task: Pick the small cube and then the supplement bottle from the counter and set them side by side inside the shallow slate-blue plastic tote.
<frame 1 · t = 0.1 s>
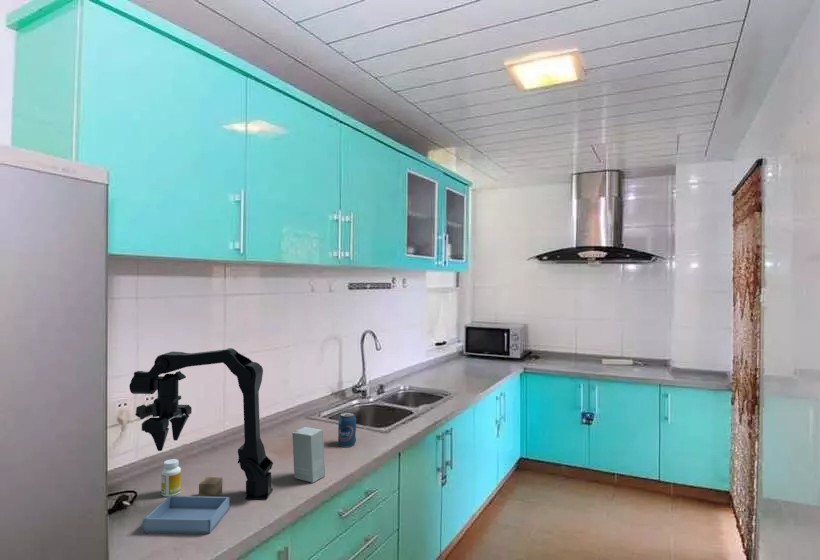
hand: (167, 445, 149), 15 cm above the worktop, fingers open, 9 cm apart
supplement bottle: (171, 493, 149), on the worktop
tote: (188, 520, 133), on the worktop
cube: (210, 497, 147), on the worktop
skincare box: (308, 478, 161), on the worktop
soda can: (347, 445, 193), on the worktop
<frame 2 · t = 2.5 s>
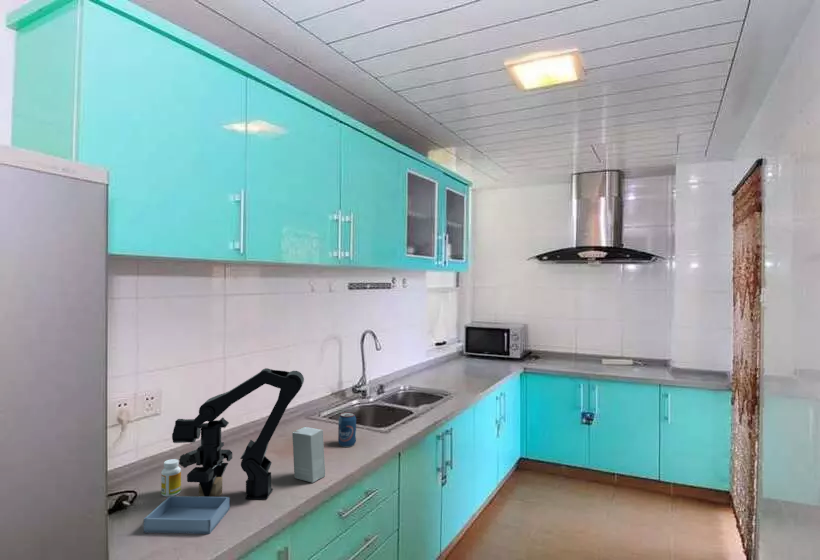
hand: (210, 493, 147), 1 cm above the worktop, fingers closed on cube, 5 cm apart
cube: (210, 496, 147), on the worktop, touching gripper
everything else where it was.
when the fingers open (4 cm above the worktop, at t = 5.9 s): cube drops 3 cm, resting on tote.
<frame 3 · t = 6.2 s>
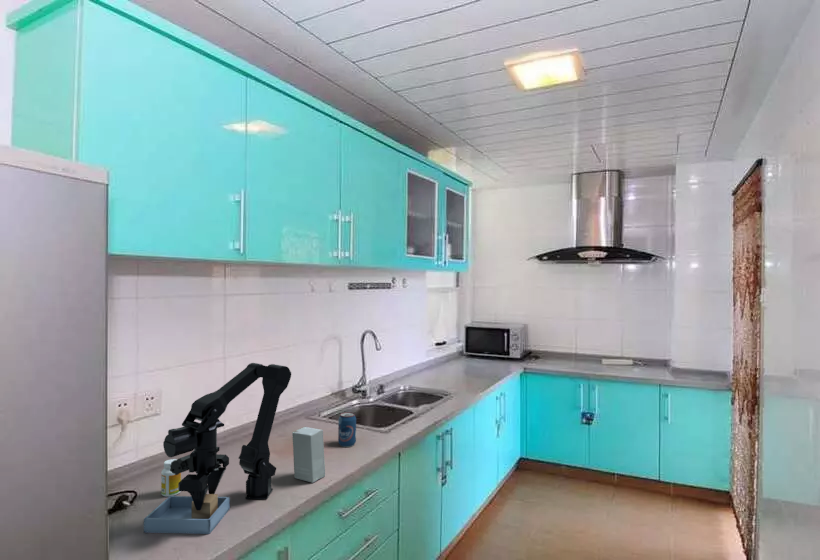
hand: (205, 503, 134), 4 cm above the worktop, fingers open, 8 cm apart
cube: (204, 516, 134), point 1 cm above the worktop, touching tote
everything else where it was.
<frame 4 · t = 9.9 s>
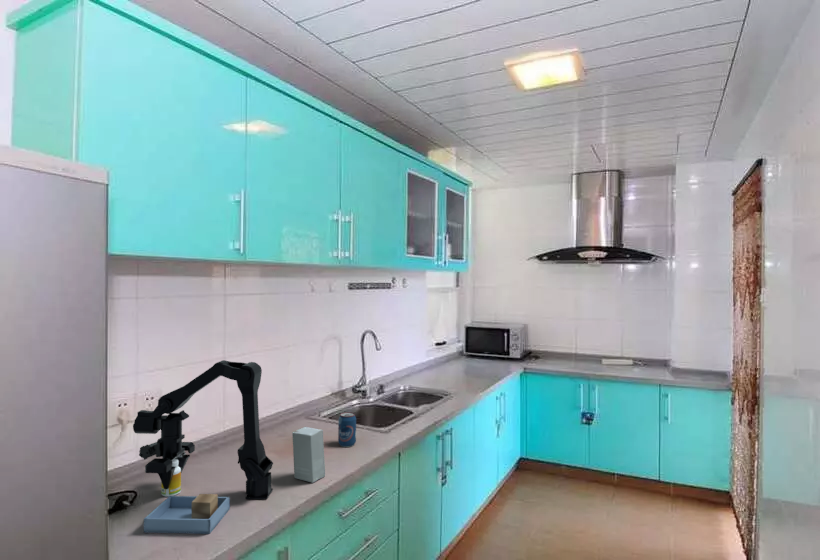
hand: (171, 484, 149), 3 cm above the worktop, fingers closed on supplement bottle, 5 cm apart
supplement bottle: (171, 493, 149), on the worktop, touching gripper
everything else where it was.
when the fingers open (5 cm above the worktop, at t = 13.8 s): supplement bottle drops 1 cm, resting on tote.
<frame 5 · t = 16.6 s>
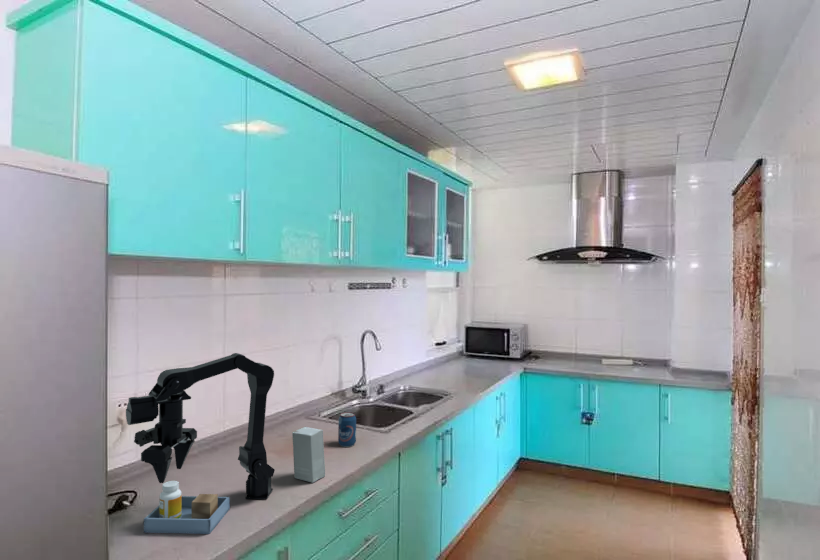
hand: (170, 475, 132), 12 cm above the worktop, fingers open, 9 cm apart
supplement bottle: (170, 520, 132), resting on tote
everything else where it was.
at the end: cube inside the target area on the tote (4.1 cm from its centre), point 0.6 cm above the tote's base; supplement bottle inside the target area on the tote (4.6 cm from its centre), point 0.4 cm above the tote's base; the gripper is holding nothing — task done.
